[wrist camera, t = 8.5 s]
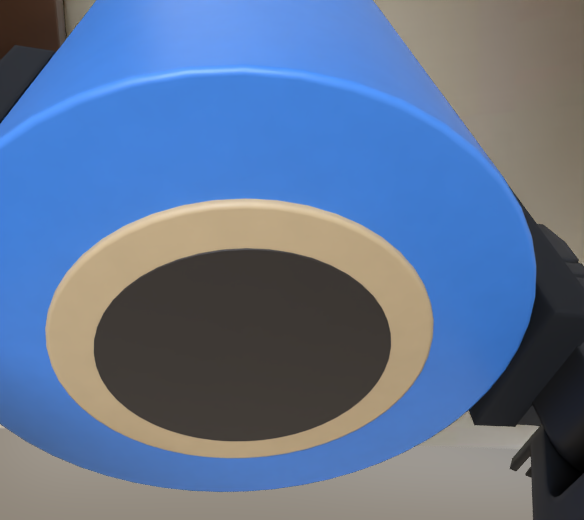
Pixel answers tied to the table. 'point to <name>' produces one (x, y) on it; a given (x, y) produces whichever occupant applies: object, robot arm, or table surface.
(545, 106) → the table surface
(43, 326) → the tape roll
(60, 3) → the shelf rack
